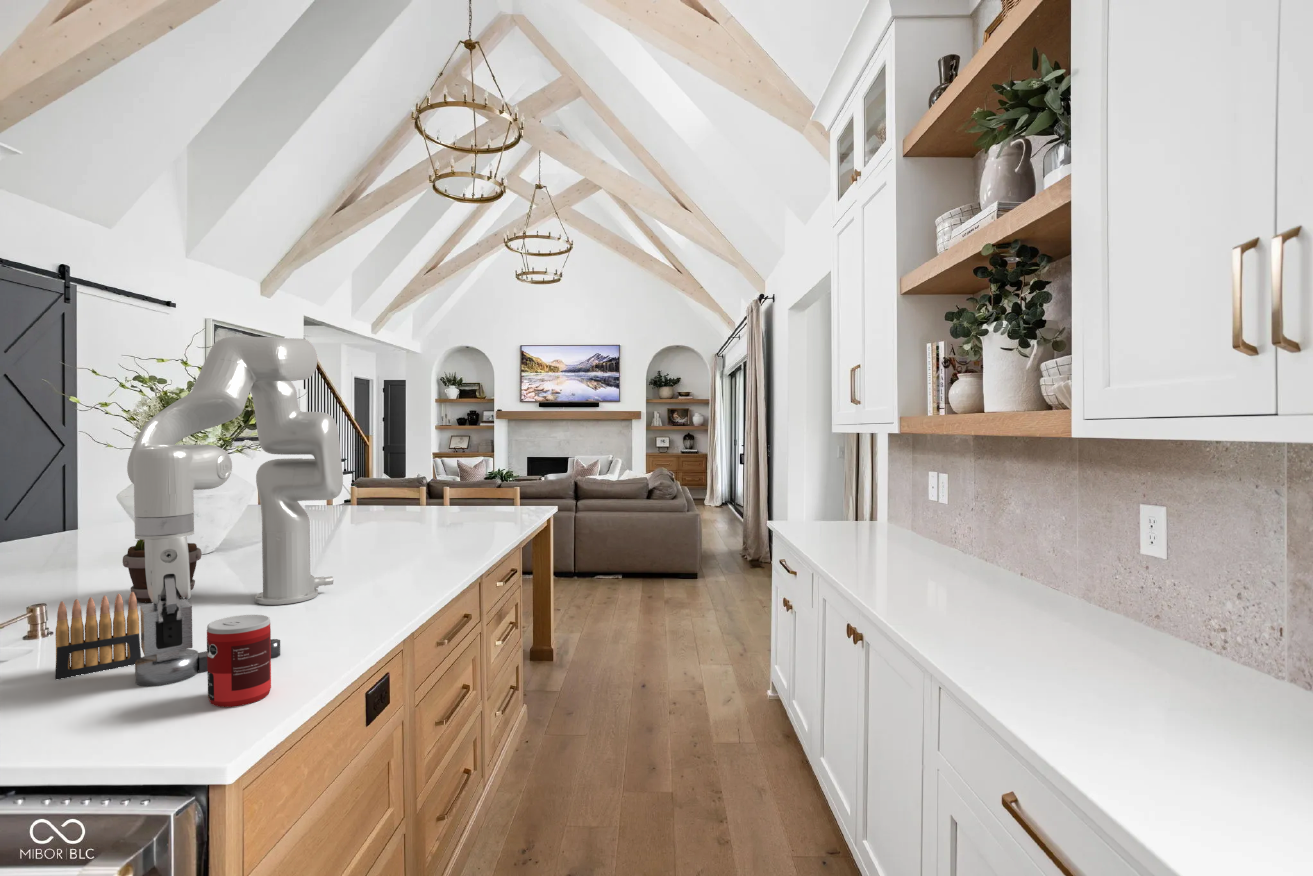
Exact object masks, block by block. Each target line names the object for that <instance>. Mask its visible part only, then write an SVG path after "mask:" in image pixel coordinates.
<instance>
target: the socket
mask: <svg viewBox="0 0 1313 876" xmlns="http://www.w3.org/2000/svg"><path fill="white" fill-rule="evenodd" d="M139 606H140V649H141V650H142V654H143V657H144V656H150V655H155V654H161V653H167V652H172V651H178V650H183V649H193V646H194V645H193V606H192V604H191V603H190V601H189V599H188V600H185V598H182V599H180V612H181V619H182V644H181V645H180V646H174V647H169V648H163V649H158V648H157V647H156V622H158V608H157V604H155V603H154V604H153V603H148V604H142V605H139ZM164 607H166V606H162V609H163V608H164Z"/></svg>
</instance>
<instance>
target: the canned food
mask: <svg viewBox="0 0 1313 876" xmlns="http://www.w3.org/2000/svg"><path fill="white" fill-rule="evenodd" d="M271 633H272V630H271V618H270V617H269V616H267V615H262V614H241V615H233V616H228V617H227V616H226V617H224V618H221V619H215V620H214V621H211V622H210V623H208V624H207V627H206V651H207V671H206V673H207V698H208V701H209V703H210V705H212V706H214V707H218V708H235V707H240V706H241V707H242V706H246V705H250V704H254V703H256V702H260V701H261V700H263V699H264V698H265V699H266V697H267V696H269V694H270V692H271V689H272V659H271V638H272V634H271Z"/></svg>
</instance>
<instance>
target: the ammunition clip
mask: <svg viewBox="0 0 1313 876" xmlns="http://www.w3.org/2000/svg"><path fill="white" fill-rule="evenodd" d="M124 607H125V606H124V601H123V597H122V595H121V594H120V593H117V595H116V597H115V601H114V611H113V620H112V617H111V610H110V608H111V607H110V602H109V600H108V597H107V595H103V597H102V598H101V602H100V610H99V611H100V612H99V613H100V614H99V620H97V614H96V613H97V610H96V604H95V601H94V599H93V598H92V596H90V597H89V599H88V601H87V604H86V608H85V609H86V611H85V614H86V615H85V623H83V615H82V613H83V612H82V611H83V610H82V606H81V604H80V601H79V600H78V599H77V598H76V599H74V602H73V605H72V608H71V609H72V610H71V620H70V621H71V624H70V626H69V622H68V621H69V620H68V611H67V607H66V604H65V602H64V600H61V601H60V602H59V604H58V607H57V613H56V618H57V619H56V627H55V669H54V670H55V672H54V679H55V680H56V679H59V680H62V679H61V678H64V679H68V678H67V677H69V678H72V677H71V676H74V677H77V676H76V675H79V676H82V675H81V674H84V675H90V674H94V673H93V672H95V673H100V672H104V671H103V670H105V671H109V669H110V670H115V669H119V668H118V667H121V668H125V667H124V666H126V667H129V666H128V665H131V666H135V665H134V664H135V662H136V660H138V659H140V658H142V653H141V650H142V649H141V634H140V616H139V612H138V611H139V610H138V601H137V599H136V596H135V594H134V592H131V591H130V594H129V598H128V604H127V607H128V608H127V616H126V617H125V609H124ZM98 621H99V622H98ZM99 671H100V672H99ZM89 673H90V674H89Z"/></svg>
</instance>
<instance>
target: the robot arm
mask: <svg viewBox="0 0 1313 876" xmlns="http://www.w3.org/2000/svg"><path fill="white" fill-rule="evenodd" d="M317 365H318V354H317V350H316V348H315V346H314V345H313V343H311V342H310V340H308V339H305V338H291V337H289V338H287V337H277V336H275V337H274V336H230V337H229V336H228V337H224V338H223V337H222V338H220V339H218V340H217V341H216V342H214V343H213V345H212V346H211V348H210V349H209V352H208V354H207V356H206V359H205V360H204V363H203V365H202V367H201V369H200V371H199V374H198V376H197V378H196V381H194V382H195V383H194V385H193V386H192V389H191V391H190V392H189V393H188V394H187V395H185V396H183V397H181V398H179V399H177V400H176V401H174V402H172V403H171V404H170V405H167V406H166V407H165V408H163V409H162V410H160V411H159V412H157V413H156V414H154V416H152V417H151V418H150V419H149V420H148V421H147V422H145V424H144V425H143V427H142V428H141V430H140V432H139V433H138V436H137V438H136V440H135V442H134V444H133V446H132V448H131V450H130V454H129V456H128V460H127V466H126V468H127V469H126V473H127V475H128V479H129V480H130V482H131V483H132V484H133V503H134V504H133V506H134V510H133V511H134V540H135V539H136V540H140V539H141V540H145V570H146V582H147V589H148V594H149V597H150V599H151V601H152V602H151V603H152V604H154V603H155V604H157V608H158V622H156V647H157V648H158V649H163V648H169V647H174V646H180V645H181V644H182V619H181V612H180V600H181V599H185V600H188V601H189V599H190V598H191V597H192V590H191V589H190V570H189V552H188V543H189V542H188V537H189V536H192V535H195V521H194V520H195V517H194V516H195V514H194V512H195V510H194V509H195V507H194V505H195V504H194V501H195V500H194V499H195V498H194V490H195V491H197V490H198V491H200V490H203V491H204V490H211V489H216V488H218V487H221V486H222V485H224V483H226V482H227V481H228V480H229V478H230V476H231V475H232V472H233V470H232V469H233V462H232V457H231V456H230V454H229V453H228V452H227V451H226V450H225V449H224V448H222V447H220V446H217V445H212V444H178V443H179V442H180V441H182V440H183V439H185V438H187V437H189V436H191V435H193V434H196V433H199V432H202V431H204V430H209V429H211V428H215V427H218V426H220V425H223V424H226V423H228V422H231V421H233V420H234V419H236V418H238V417H239V416H240V415H241V414H242V413H243V411H244V409H245V406H246V403H247V401H248V398H249V395H250V394H251V397H252V402H253V408H254V417H255V425H256V431H257V432H256V433H257V438H258V442H259V446H260V448H261V449H262V451H264V453H267V454H271V455H281V456H282V455H287V456H289V455H296V456H297V455H304V456H305V455H311V456H312V457H313V458H302V457H301V458H295V457H294V458H293V457H292V458H290V457H289V458H276V459H271V460H267V461H265V462H264V463H262V464H261V465H260V466H259V467H258V468H257V471H256V474H255V475H256V476H255V483H256V488H257V492H258V498H259V502H260V504H259V505H260V511H261V552H262V553H261V554H262V592H260V593H258V594H256V595H255V596H254V602H255V603H257V604H259V605H264V606H265V605H267V606H269V605H270V606H273V605H274V606H277V605H287V604H288V605H289V604H295V603H302V602H305V601H309V600H312V599H315V598H316V597H317V596H319V590H318V589H319V587H321V586H324V587H325V586H331V585H334V576H316V577H315V576H314V575H312V574H311V532H310V531H311V529H310V528H311V527H310V526H311V524H310V523H311V522H310V518H309V515H308V513H307V511H306V510H305V509H304V508H303V506H302V505H301V504H300V503H299V502H303V501H305V502H307V501H329V500H330V501H331V500H334V499H335V498H338V497H339V496H340V494H341V493H342V489H343V485H344V475H343V474H344V473H343V464H342V454H341V445H340V436H339V435H340V434H339V429H338V424H337V423H336V421H335V418H334V417H333V416H331V415H330V414H329V413H326V412H321V411H302V410H301V409H300V407H299V401H298V393H297V388H296V387H295V385H294V383H293V382H295V381H303V380H308V379H310V378H311V377H312V376H313V375H314V373H315V372H316V369H317ZM179 594H180V595H181V597H182V598H180V597H179ZM162 606H166V607H164V608H163V609H162Z"/></svg>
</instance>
